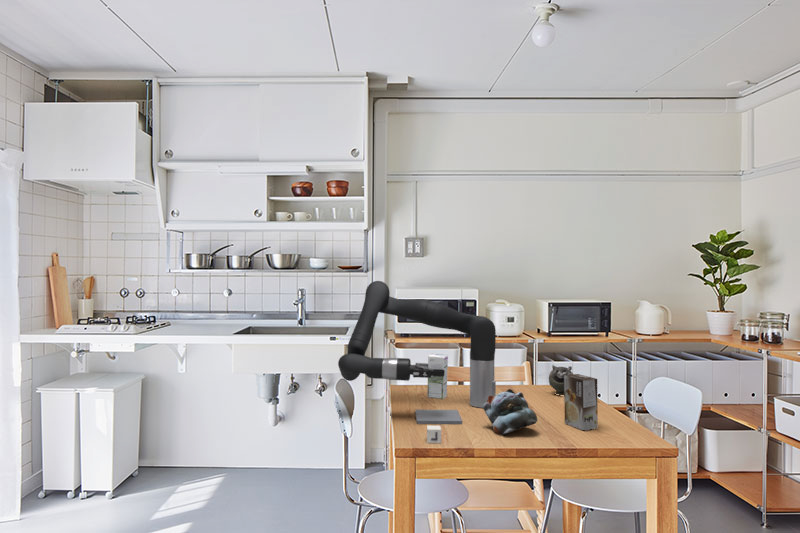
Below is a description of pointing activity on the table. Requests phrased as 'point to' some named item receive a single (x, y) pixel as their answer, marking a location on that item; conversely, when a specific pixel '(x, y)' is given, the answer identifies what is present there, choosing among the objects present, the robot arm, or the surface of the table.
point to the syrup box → (437, 383)
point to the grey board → (438, 417)
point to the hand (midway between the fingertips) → (444, 371)
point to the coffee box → (580, 401)
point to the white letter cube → (433, 434)
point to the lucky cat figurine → (509, 412)
